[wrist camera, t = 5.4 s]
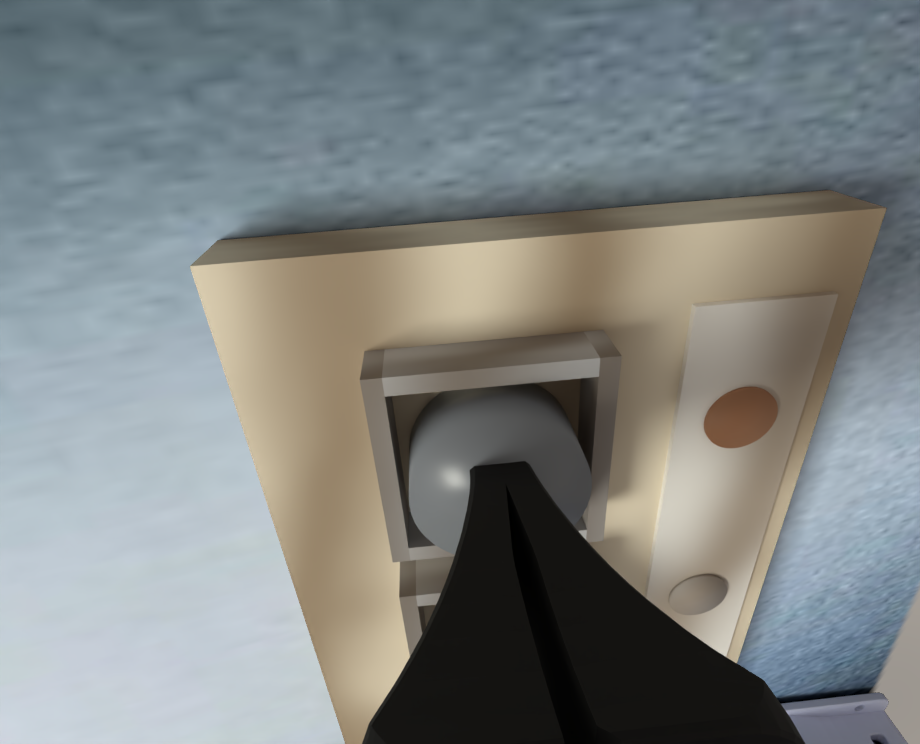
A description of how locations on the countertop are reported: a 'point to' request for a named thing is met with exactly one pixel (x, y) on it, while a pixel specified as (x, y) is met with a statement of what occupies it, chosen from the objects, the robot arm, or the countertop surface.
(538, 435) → the button
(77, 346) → the countertop surface
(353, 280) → the button board
